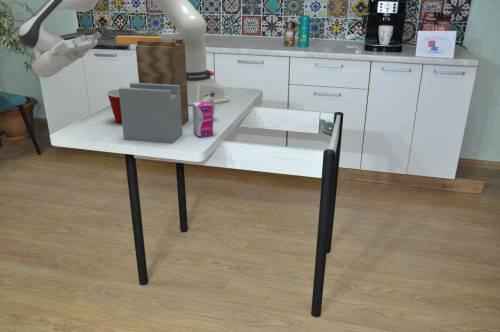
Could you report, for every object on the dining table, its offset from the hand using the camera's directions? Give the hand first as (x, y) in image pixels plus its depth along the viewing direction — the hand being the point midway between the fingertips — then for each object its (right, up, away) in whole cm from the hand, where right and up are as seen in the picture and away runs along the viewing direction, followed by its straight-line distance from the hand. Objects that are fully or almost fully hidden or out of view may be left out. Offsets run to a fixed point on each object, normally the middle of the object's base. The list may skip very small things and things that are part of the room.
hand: (92, 35), depth 180 cm
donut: (+43, -32, +8) cm, 54 cm away
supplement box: (+43, -38, -8) cm, 58 cm away
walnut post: (+27, -33, +5) cm, 43 cm away
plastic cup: (+10, -32, +8) cm, 34 cm away
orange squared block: (+21, -5, -5) cm, 22 cm away
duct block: (+25, -39, -10) cm, 47 cm away
